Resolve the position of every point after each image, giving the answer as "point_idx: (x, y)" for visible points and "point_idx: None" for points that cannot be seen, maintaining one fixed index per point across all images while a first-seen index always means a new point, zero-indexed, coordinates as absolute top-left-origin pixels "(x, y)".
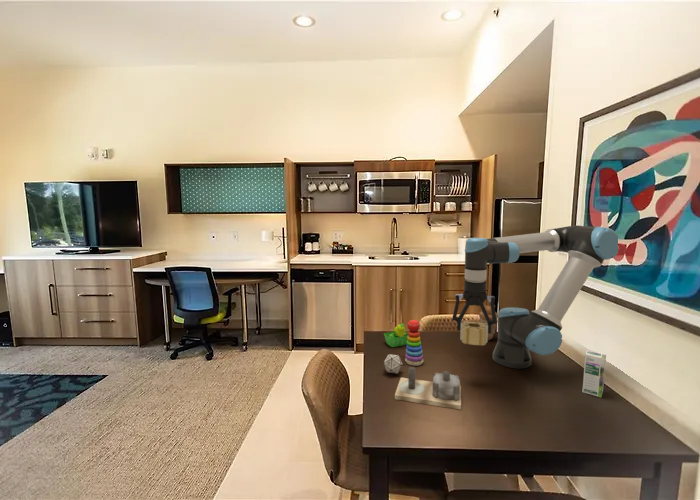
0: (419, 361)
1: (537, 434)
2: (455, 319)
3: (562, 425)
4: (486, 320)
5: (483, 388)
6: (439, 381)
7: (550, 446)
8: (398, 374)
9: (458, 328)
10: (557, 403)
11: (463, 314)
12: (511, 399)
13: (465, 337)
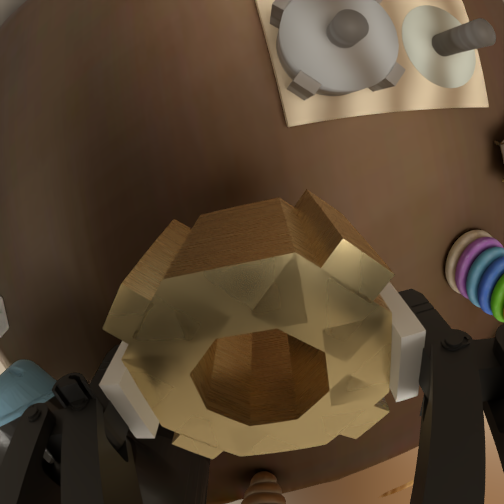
0: (461, 250)
1: (48, 24)
2: (500, 340)
3: (4, 105)
4: (97, 432)
5: (209, 179)
6: (362, 8)
7: (30, 4)
8: (496, 142)
9: (414, 301)
10: (19, 209)
11: (446, 442)
12: (112, 155)
13: (321, 206)
